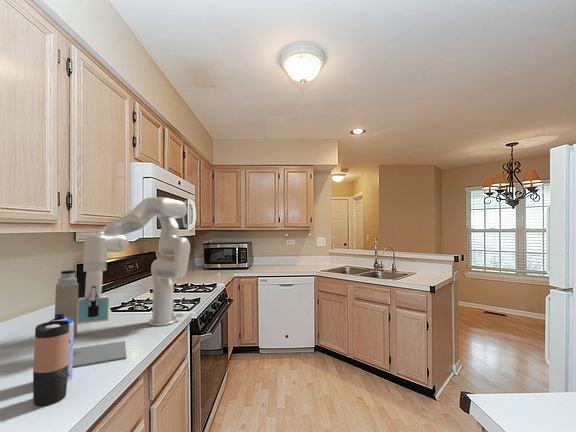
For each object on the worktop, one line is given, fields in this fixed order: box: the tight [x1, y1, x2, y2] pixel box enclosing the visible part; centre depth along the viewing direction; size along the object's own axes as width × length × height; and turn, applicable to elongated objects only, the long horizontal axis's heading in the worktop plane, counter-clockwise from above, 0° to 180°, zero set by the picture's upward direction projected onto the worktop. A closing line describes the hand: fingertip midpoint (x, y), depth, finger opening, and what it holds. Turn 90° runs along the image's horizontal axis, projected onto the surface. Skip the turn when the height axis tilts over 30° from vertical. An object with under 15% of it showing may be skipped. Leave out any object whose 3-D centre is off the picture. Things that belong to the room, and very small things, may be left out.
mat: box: [72, 340, 127, 369], centre depth 115 cm, size 22×18×1 cm
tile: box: [77, 295, 110, 325], centre depth 119 cm, size 10×3×9 cm, turn 119°
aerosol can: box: [48, 313, 74, 383], centre depth 96 cm, size 8×8×20 cm
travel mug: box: [32, 321, 69, 407], centre depth 86 cm, size 8×8×20 cm
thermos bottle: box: [54, 269, 79, 338], centre depth 134 cm, size 8×8×28 cm
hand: (93, 314), depth 119 cm, fingers closed on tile, 3 cm apart
